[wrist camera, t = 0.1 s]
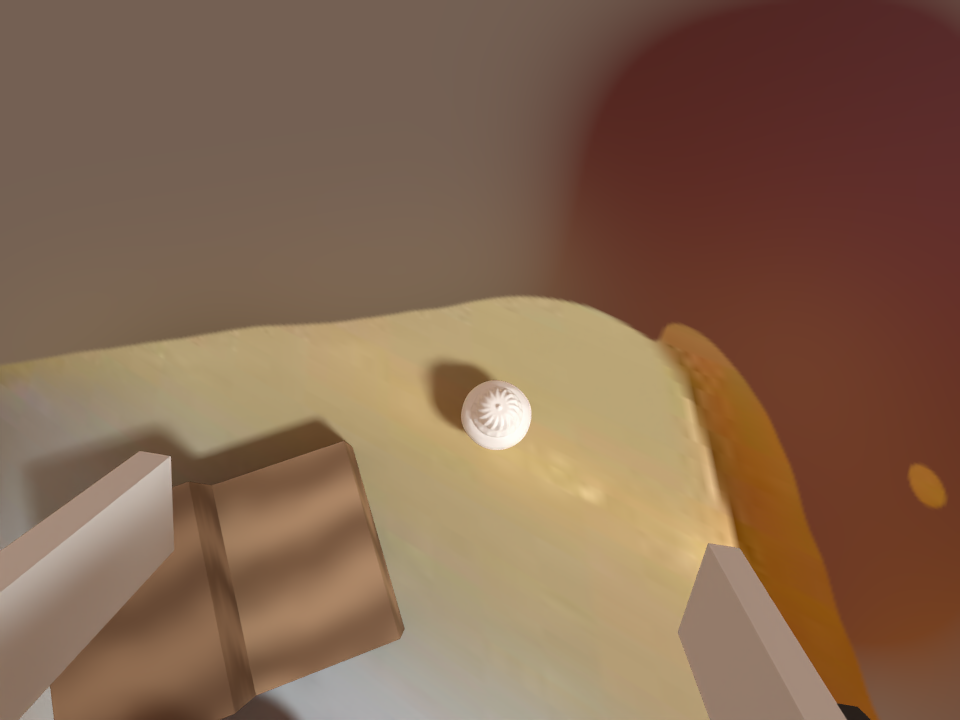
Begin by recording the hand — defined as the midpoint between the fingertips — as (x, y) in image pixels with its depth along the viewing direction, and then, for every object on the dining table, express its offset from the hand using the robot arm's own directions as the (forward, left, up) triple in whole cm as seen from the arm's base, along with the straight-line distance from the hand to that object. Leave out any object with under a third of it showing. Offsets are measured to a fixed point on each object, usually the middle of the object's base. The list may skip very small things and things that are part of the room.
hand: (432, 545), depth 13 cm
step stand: (+2, +17, -36) cm, 40 cm away
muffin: (+8, -7, -36) cm, 37 cm away
